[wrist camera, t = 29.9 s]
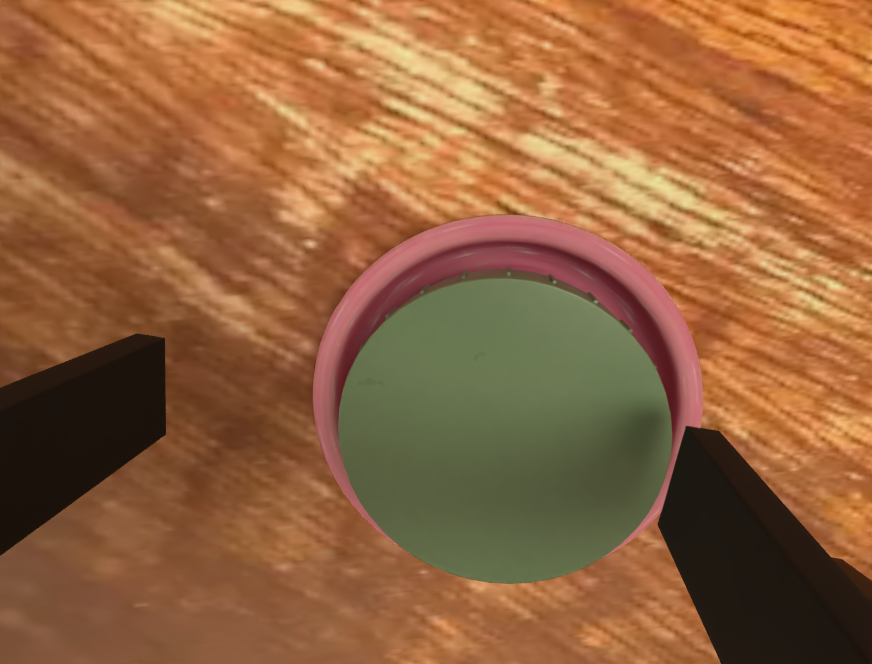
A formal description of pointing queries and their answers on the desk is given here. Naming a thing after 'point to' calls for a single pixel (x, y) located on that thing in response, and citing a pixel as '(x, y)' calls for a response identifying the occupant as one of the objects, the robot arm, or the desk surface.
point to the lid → (505, 427)
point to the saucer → (521, 250)
